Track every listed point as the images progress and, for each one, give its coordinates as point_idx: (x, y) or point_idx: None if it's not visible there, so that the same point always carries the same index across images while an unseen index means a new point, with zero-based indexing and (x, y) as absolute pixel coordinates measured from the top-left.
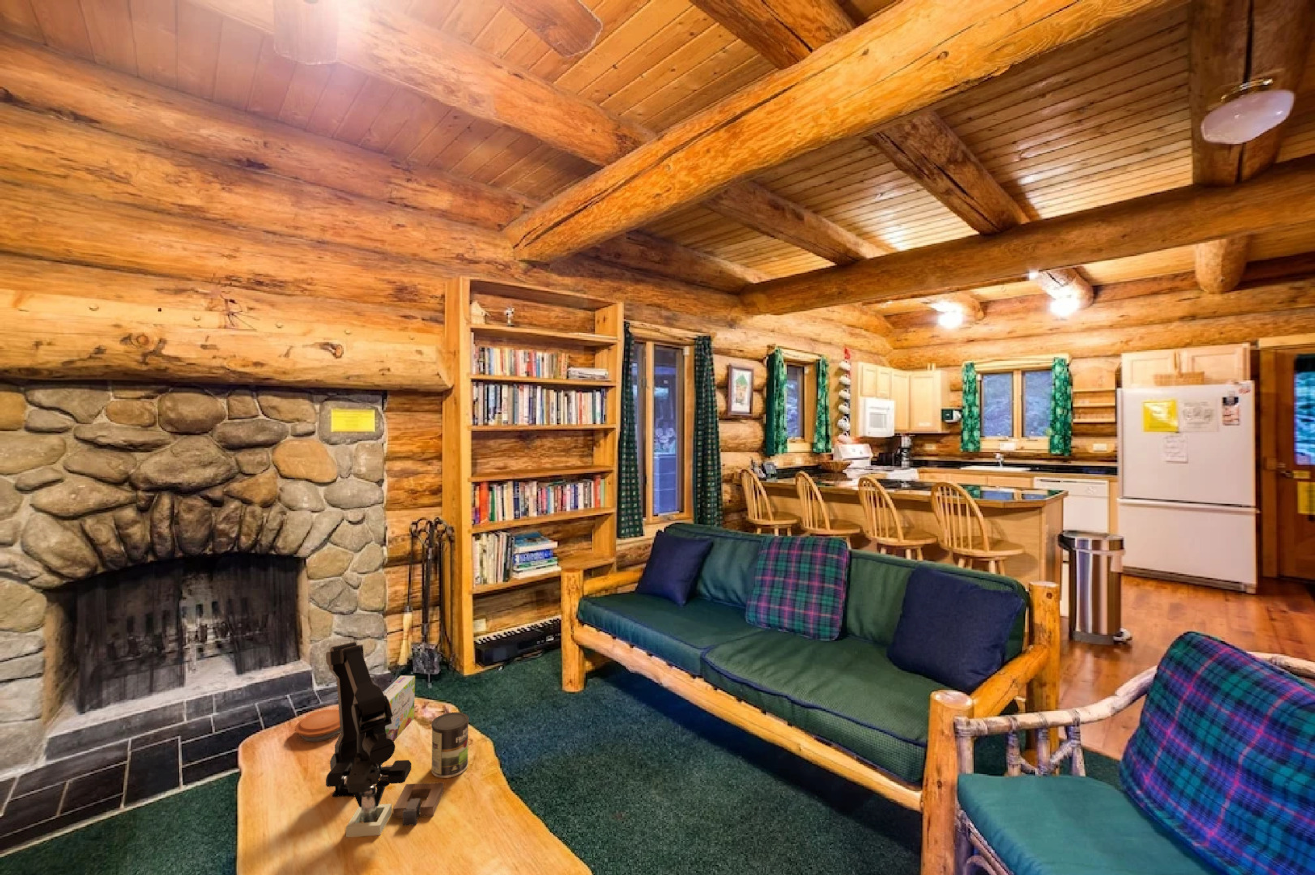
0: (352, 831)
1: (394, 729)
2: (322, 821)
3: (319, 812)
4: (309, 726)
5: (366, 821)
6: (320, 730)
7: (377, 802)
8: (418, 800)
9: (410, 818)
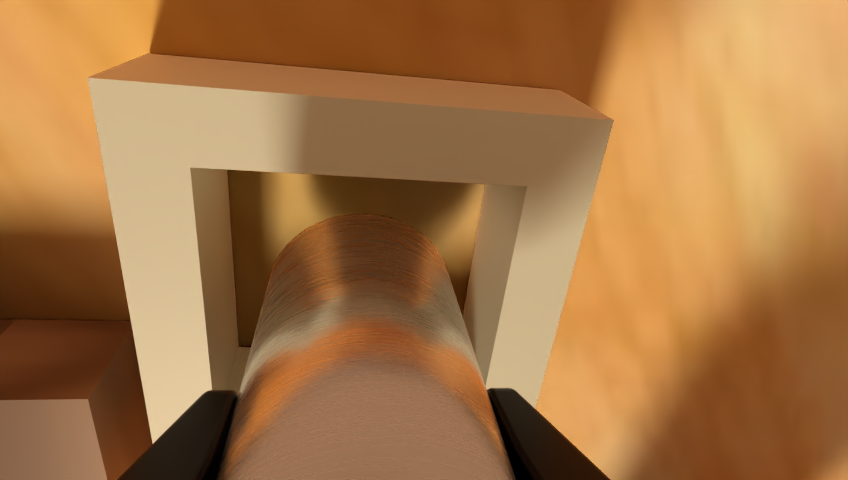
0: (507, 97)
1: None
2: (781, 337)
3: (798, 425)
4: None
5: (367, 223)
6: None
7: (177, 449)
8: None
9: None
